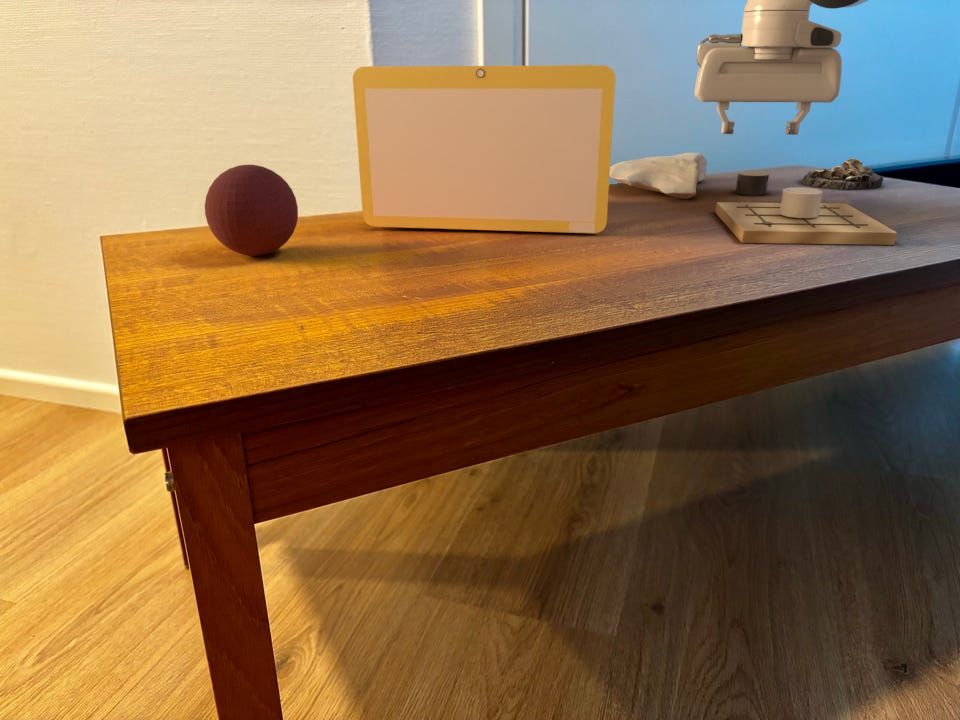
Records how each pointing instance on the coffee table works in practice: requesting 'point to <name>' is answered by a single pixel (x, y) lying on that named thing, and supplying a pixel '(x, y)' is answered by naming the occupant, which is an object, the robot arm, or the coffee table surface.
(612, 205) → the coffee table surface
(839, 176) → the grey lumpy piece
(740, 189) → the black stone
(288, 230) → the decorative ball
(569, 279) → the coffee table surface
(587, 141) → the tablet
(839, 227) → the game board
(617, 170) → the decorative stone
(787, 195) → the white stone
